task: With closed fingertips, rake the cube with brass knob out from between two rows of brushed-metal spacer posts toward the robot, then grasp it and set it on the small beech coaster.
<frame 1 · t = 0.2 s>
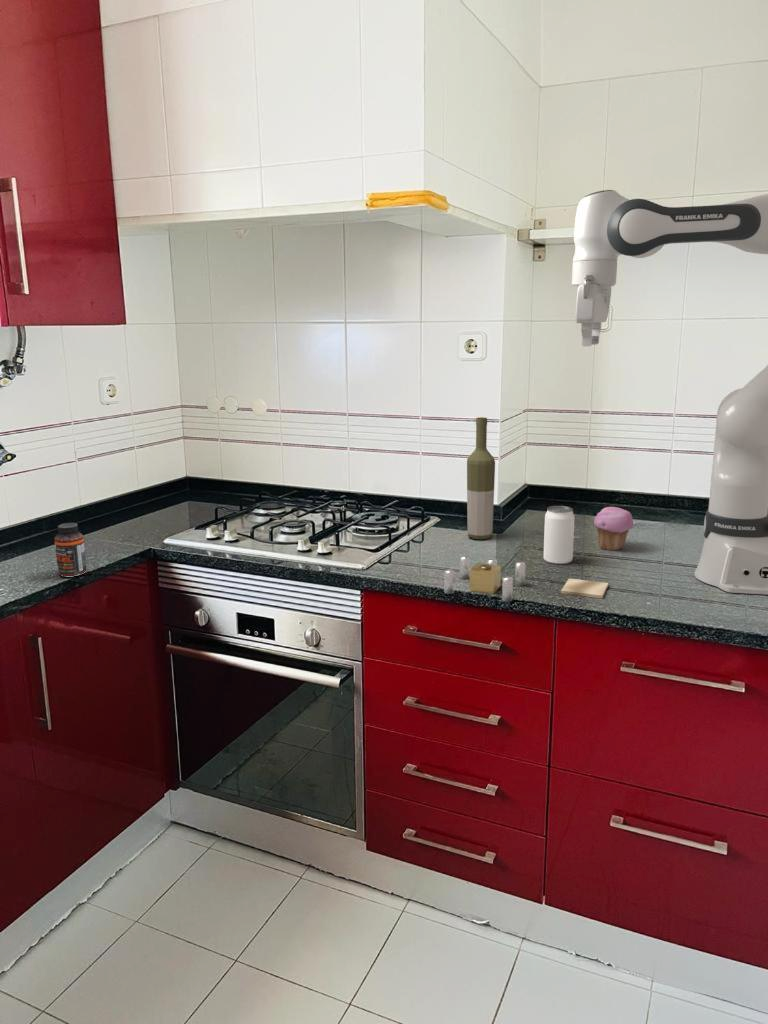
hand: (590, 345, 164), 48 cm above the worktop, fingers open, 8 cm apart
spacer posts: (484, 588, 161), on the worktop
cube with brass knob: (484, 588, 161), on the worktop
coaster: (584, 589, 159), on the worktop
cupcake: (612, 549, 186), on the worktop
bottle: (479, 538, 197), on the worktop
supplement bottle: (73, 575, 173), on the worktop
can: (557, 561, 178), on the worktop
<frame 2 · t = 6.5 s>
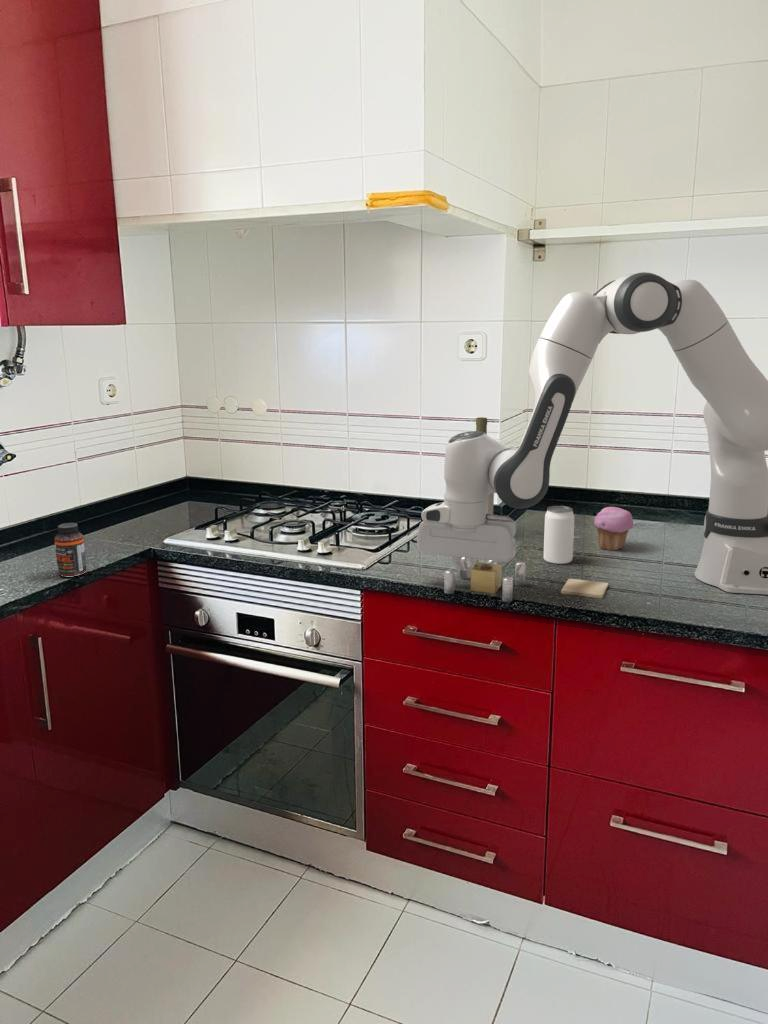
hand: (465, 577, 162), 2 cm above the worktop, fingers closed
cube with brass knob: (486, 588, 160), on the worktop, touching gripper
everything else where it was.
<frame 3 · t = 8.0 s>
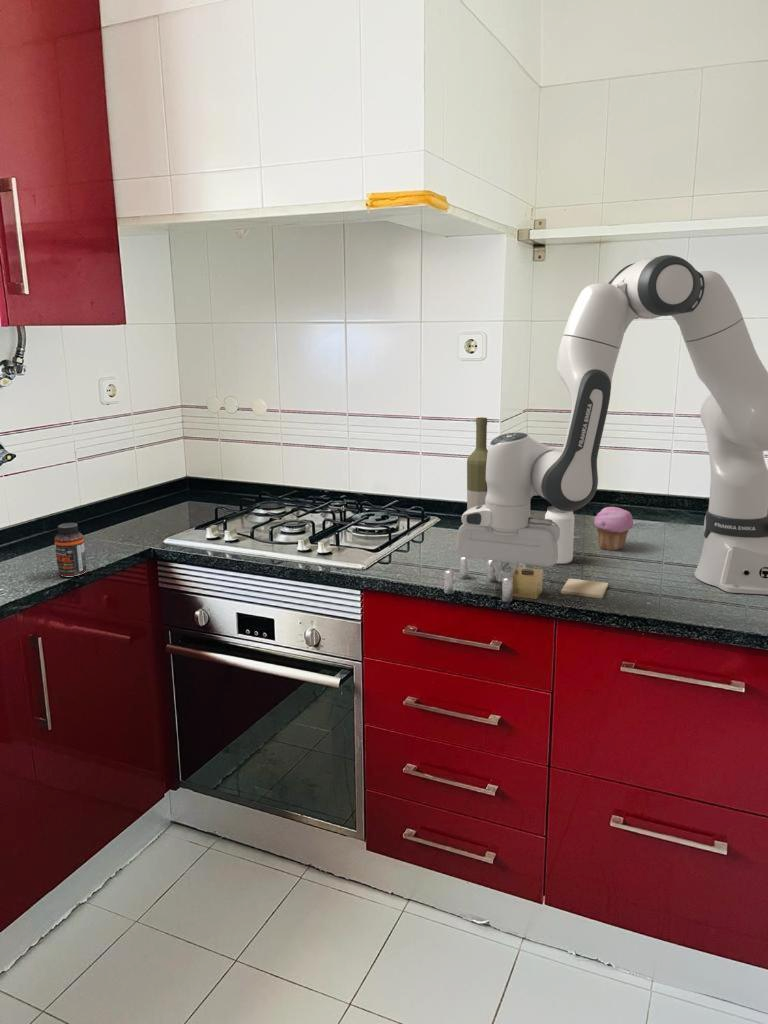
hand: (505, 581, 159), 2 cm above the worktop, fingers closed
cube with brass knob: (527, 593, 157), on the worktop, touching gripper
everything else where it was.
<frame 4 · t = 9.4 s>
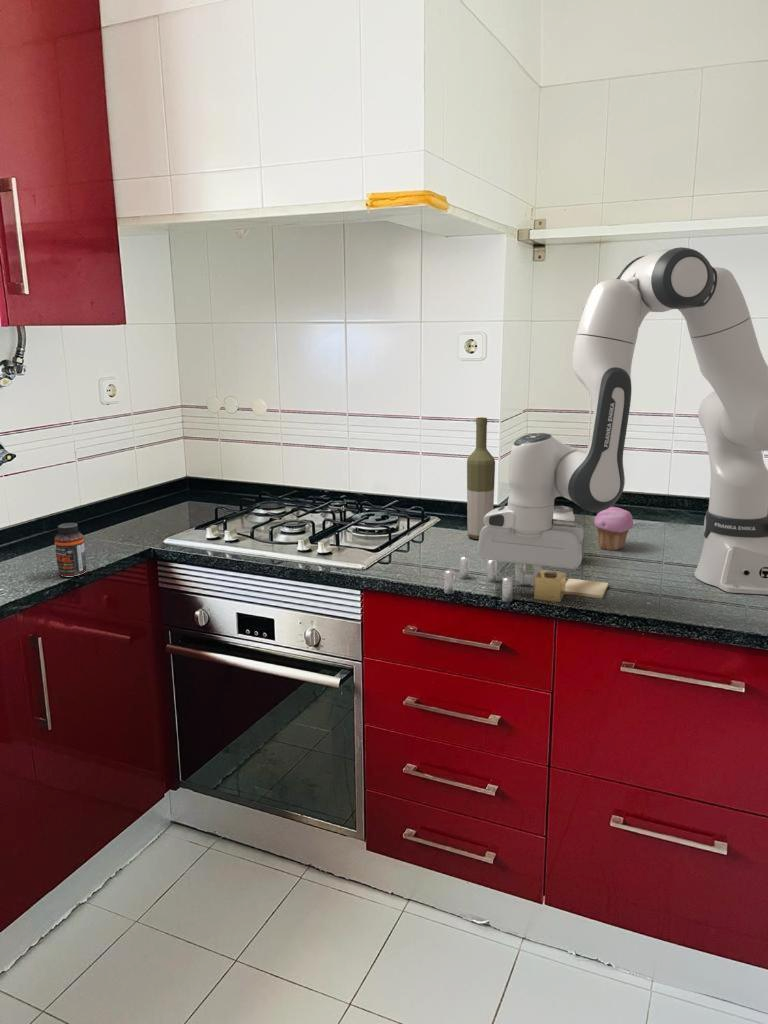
hand: (528, 584, 157), 2 cm above the worktop, fingers closed
cube with brass knob: (549, 596, 155), on the worktop, touching gripper
everything else where it was.
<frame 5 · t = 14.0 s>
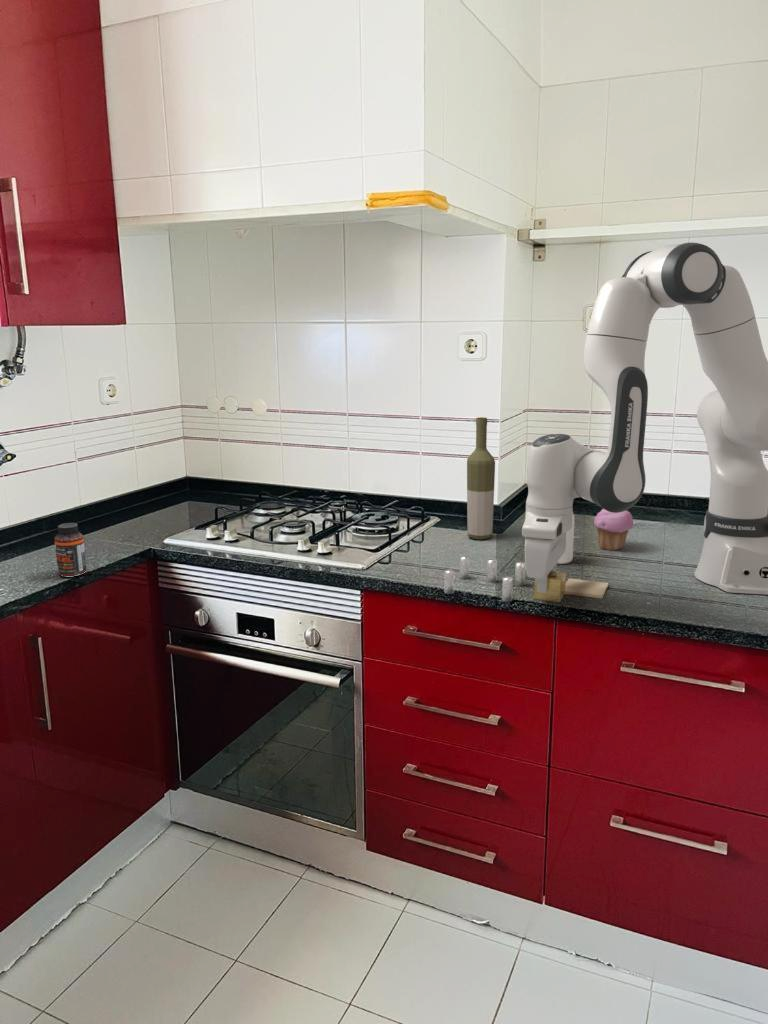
hand: (546, 586, 155), 2 cm above the worktop, fingers closed on cube with brass knob, 5 cm apart
cube with brass knob: (549, 596, 155), on the worktop, touching gripper
everything else where it was.
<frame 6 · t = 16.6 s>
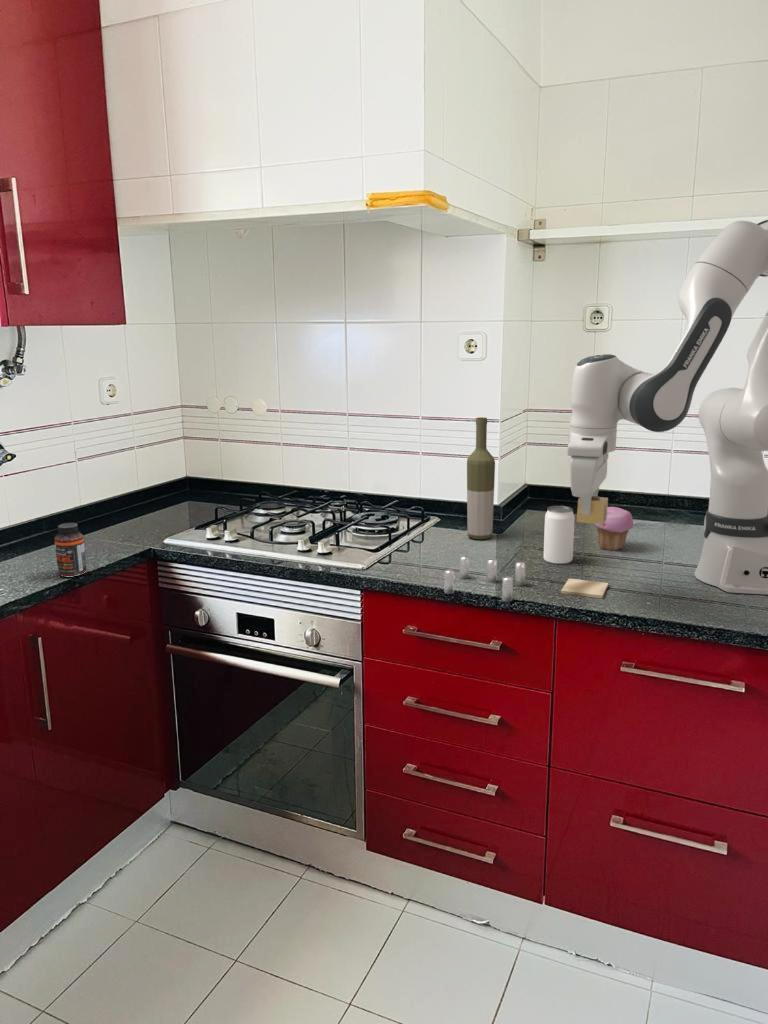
hand: (588, 510, 155), 17 cm above the worktop, fingers closed on cube with brass knob, 5 cm apart
cube with brass knob: (591, 521, 155), point 14 cm above the worktop, touching gripper
everything else where it was.
when the fingers open (3 cm above the worktop, at t = 19.3 s): cube with brass knob stays where it is, resting on coaster.
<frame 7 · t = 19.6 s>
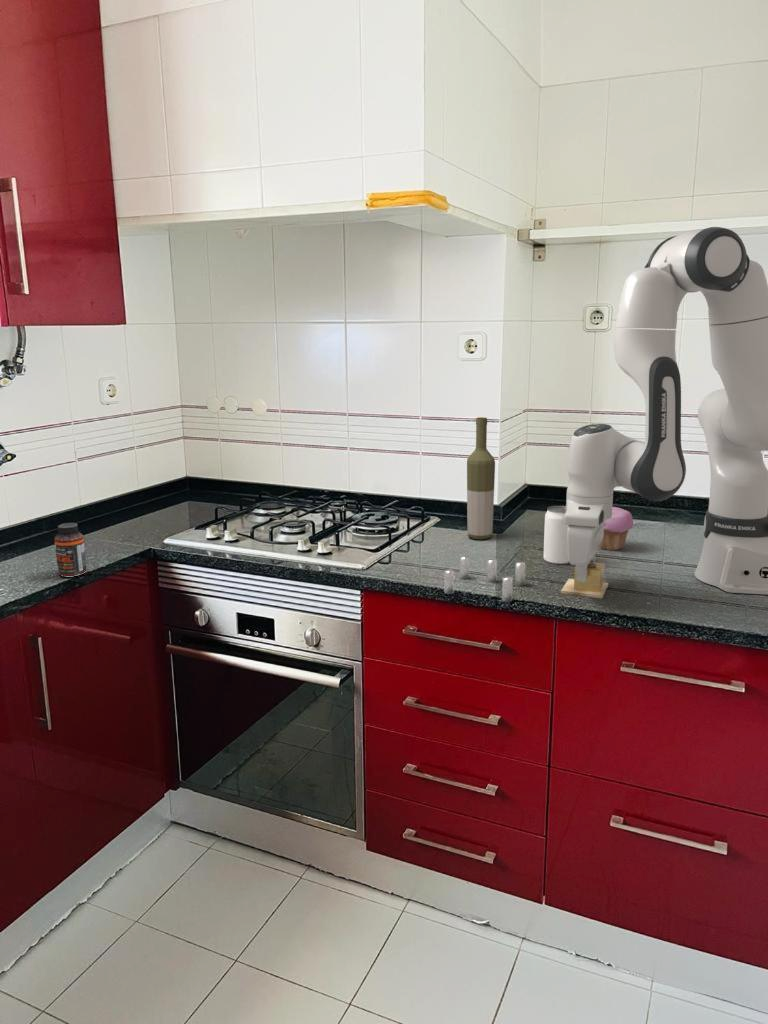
hand: (585, 574, 158), 3 cm above the worktop, fingers open, 8 cm apart
cube with brass knob: (588, 587, 159), point 1 cm above the worktop, touching coaster
everything else where it was.
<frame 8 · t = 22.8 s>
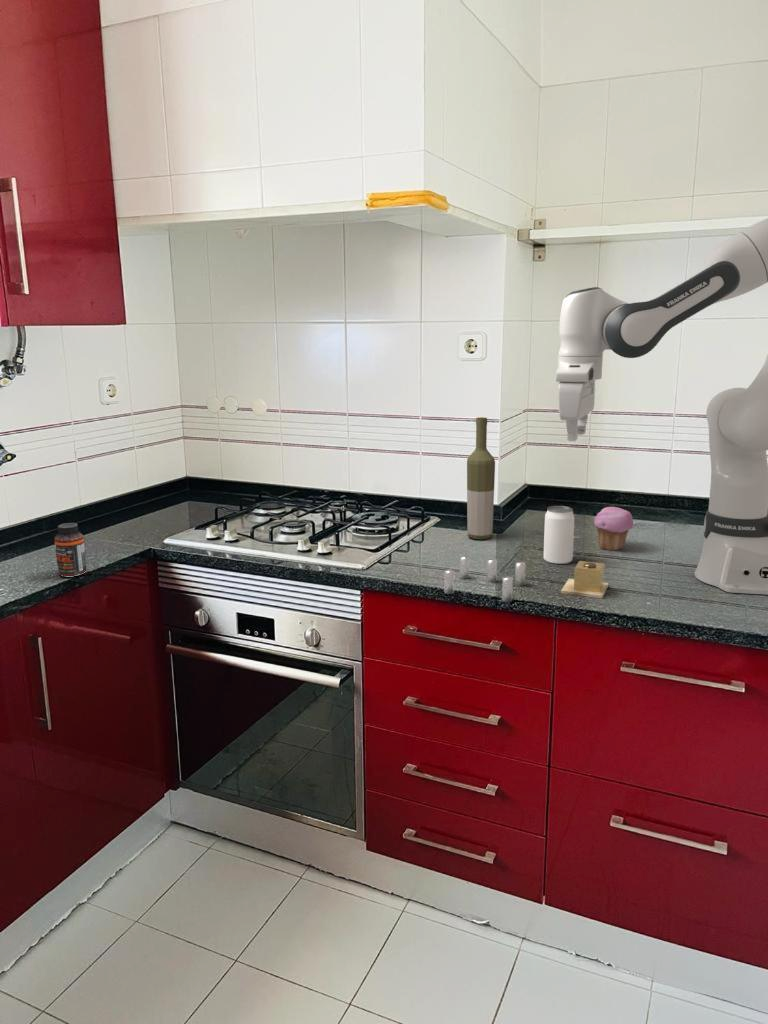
hand: (576, 437, 164), 29 cm above the worktop, fingers open, 8 cm apart
nothing on the worktop moved.
at the end: cube with brass knob inside the target area on the coaster (0.7 cm from its centre), point 0.6 cm above the coaster's base; cube with brass knob inside the target area (1.1 cm from its centre), point 0.6 cm above the worktop; the gripper is holding nothing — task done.
